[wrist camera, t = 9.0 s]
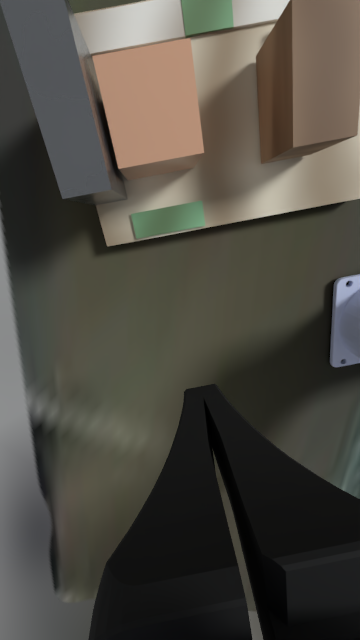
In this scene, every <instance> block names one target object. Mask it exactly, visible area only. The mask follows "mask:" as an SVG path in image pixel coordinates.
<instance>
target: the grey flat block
mask: <svg viewBox="0 0 360 640" xmlns="http://www.w3.org/2000/svg"><path fill="white" fill-rule="evenodd" d="M0 3H1V7H2V10H3V13H4V16H5V19H6V22H7V25H8V29H9V32H10V35H11V38H12V41H13V44H14V48H15V51H16V54H17V57H18V60H19V63H20V67H21V70H22V73H23V76H24V79H25V82H26V85H27V89H28V92H29V95H30V98H31V101H32V104H33V108H34V111H35V114H36V117H37V120H38V123H39V127H40V130H41V133H42V136H43V139H44V142H45V145H46V149H47V152H48V155H49V158H50V161H51V164H52V168H53V171H54V174H55V177H56V180H57V183H58V187H59V190H60V193H61V196H62V199H65V200H70V201H75V202H81V203H86V204H91V205H101V204H106V203H111V202H116V201H122V200H127V199H128V198H127V193H126V189H125V185H124V180H123V176H122V173H121V171H120V170H119V169H118V165H117V160H116V156H115V152H114V147H113V143H112V139H111V135H110V130H109V126H108V122H107V117H106V113H105V109H104V104H103V100H102V96H101V92H100V87H99V83H98V79H97V74H96V70H95V66H94V61H93V59H92V57H91V54H90V52H89V49H88V47H87V45H86V42H85V40H84V37H83V35H82V33H81V30H80V28H79V25H78V23H77V21H76V18H75V16H74V13H73V11H72V8H71V6H70V4H69V1H68V0H0Z"/></svg>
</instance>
